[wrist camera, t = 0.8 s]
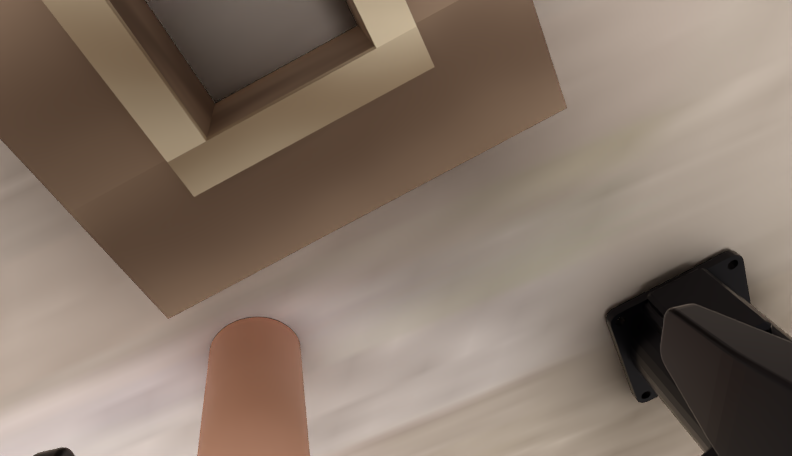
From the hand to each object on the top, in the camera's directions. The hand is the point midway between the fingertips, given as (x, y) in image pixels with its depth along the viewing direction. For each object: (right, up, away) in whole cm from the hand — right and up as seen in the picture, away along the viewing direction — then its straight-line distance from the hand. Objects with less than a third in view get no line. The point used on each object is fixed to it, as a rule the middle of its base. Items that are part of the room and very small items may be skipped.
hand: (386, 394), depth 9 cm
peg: (-6, -3, +15) cm, 16 cm away
